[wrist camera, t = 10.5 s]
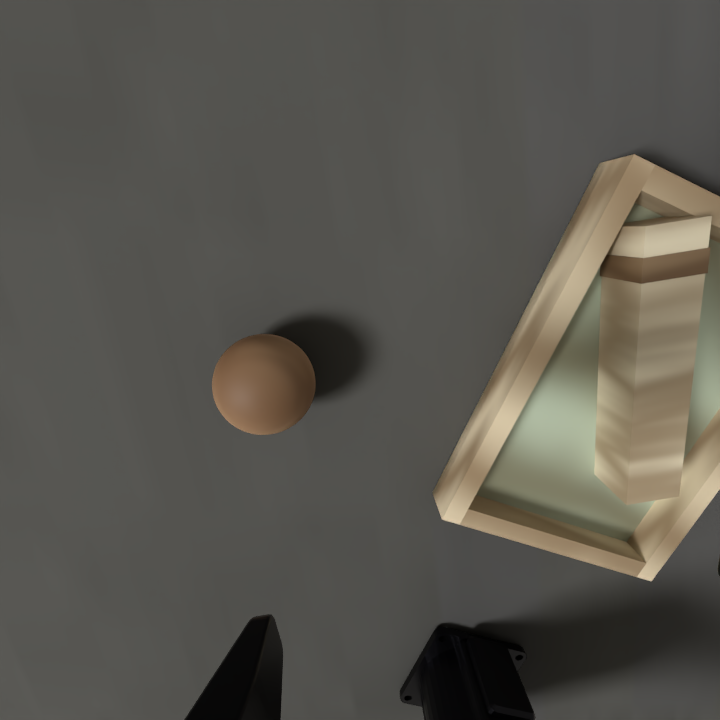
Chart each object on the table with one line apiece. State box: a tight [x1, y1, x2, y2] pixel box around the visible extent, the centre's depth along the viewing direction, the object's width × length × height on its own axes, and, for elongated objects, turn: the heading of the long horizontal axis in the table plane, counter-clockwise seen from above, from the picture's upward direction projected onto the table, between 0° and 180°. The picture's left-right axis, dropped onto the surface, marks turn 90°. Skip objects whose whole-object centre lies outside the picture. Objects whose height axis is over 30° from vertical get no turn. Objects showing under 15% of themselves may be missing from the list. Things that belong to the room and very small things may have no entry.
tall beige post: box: [594, 216, 712, 505], centre depth 19 cm, size 3×3×13 cm
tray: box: [432, 154, 720, 581], centre depth 20 cm, size 18×13×2 cm
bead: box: [212, 334, 315, 435], centre depth 18 cm, size 4×4×4 cm
